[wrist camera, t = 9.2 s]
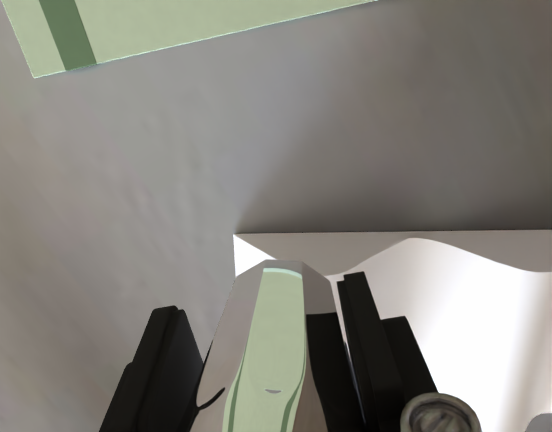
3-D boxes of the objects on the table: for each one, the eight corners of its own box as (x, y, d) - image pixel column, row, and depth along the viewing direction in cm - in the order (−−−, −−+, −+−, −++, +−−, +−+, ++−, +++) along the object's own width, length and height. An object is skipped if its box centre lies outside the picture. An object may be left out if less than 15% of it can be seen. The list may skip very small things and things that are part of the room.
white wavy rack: (233, 233, 26) (224, 284, 21) (862, 225, 26) (994, 274, 21) (243, 407, 31) (238, 478, 26) (761, 400, 31) (848, 470, 26)
